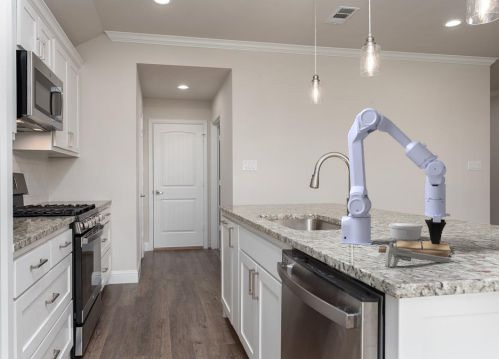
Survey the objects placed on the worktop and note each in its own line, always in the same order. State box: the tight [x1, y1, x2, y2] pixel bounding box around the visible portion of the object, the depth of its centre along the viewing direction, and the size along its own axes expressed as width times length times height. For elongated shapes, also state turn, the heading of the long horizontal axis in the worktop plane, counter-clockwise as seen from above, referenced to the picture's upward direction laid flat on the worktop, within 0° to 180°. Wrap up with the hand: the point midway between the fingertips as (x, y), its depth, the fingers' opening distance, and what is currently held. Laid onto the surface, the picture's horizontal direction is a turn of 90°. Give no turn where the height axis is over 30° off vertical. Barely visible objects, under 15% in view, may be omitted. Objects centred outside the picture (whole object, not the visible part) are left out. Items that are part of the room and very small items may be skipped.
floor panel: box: [378, 245, 450, 258], centre depth 109 cm, size 18×4×1 cm, turn 68°
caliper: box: [384, 242, 455, 268], centre depth 96 cm, size 20×1×6 cm, turn 108°
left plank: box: [395, 240, 423, 249], centre depth 117 cm, size 7×11×1 cm, turn 158°
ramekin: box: [388, 222, 423, 241], centre depth 136 cm, size 11×11×5 cm
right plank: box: [421, 240, 452, 255], centre depth 114 cm, size 7×11×1 cm, turn 158°
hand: (435, 243), depth 117 cm, fingers closed on right plank, 2 cm apart
